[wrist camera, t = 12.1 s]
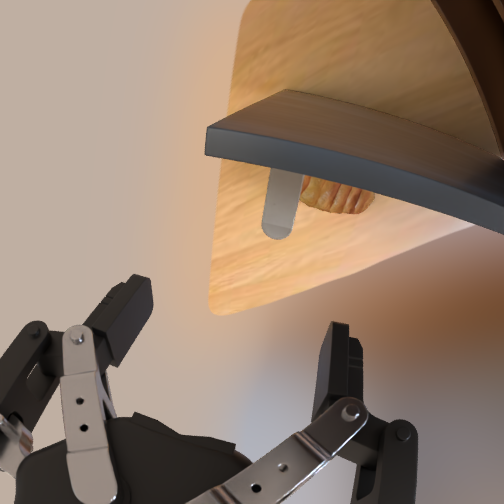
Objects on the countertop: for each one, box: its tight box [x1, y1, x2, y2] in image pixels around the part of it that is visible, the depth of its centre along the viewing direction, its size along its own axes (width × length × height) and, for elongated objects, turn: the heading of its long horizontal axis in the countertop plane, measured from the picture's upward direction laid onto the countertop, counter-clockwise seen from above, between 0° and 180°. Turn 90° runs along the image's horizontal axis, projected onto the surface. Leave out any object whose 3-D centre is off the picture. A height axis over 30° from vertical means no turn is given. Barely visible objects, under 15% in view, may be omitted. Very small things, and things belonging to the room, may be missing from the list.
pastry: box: [299, 175, 375, 214], centre depth 34 cm, size 9×7×4 cm
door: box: [205, 90, 504, 239], centre depth 22 cm, size 7×26×24 cm, turn 82°
